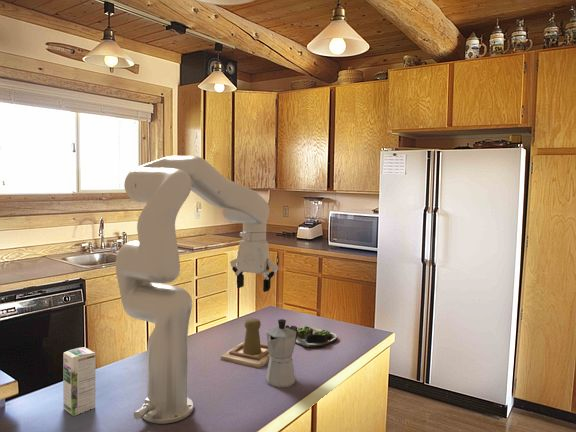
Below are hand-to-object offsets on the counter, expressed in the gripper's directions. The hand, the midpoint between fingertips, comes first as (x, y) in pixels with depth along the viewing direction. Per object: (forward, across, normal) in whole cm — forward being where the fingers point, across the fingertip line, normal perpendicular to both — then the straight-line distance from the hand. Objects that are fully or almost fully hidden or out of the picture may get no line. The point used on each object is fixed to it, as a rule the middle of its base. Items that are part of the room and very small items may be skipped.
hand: (253, 289), depth 147 cm
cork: (+21, 0, 0) cm, 21 cm away
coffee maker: (+22, +17, -11) cm, 30 cm away
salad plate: (+23, +12, +23) cm, 35 cm away
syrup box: (+23, -21, -50) cm, 59 cm away
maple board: (+22, 0, 0) cm, 22 cm away
